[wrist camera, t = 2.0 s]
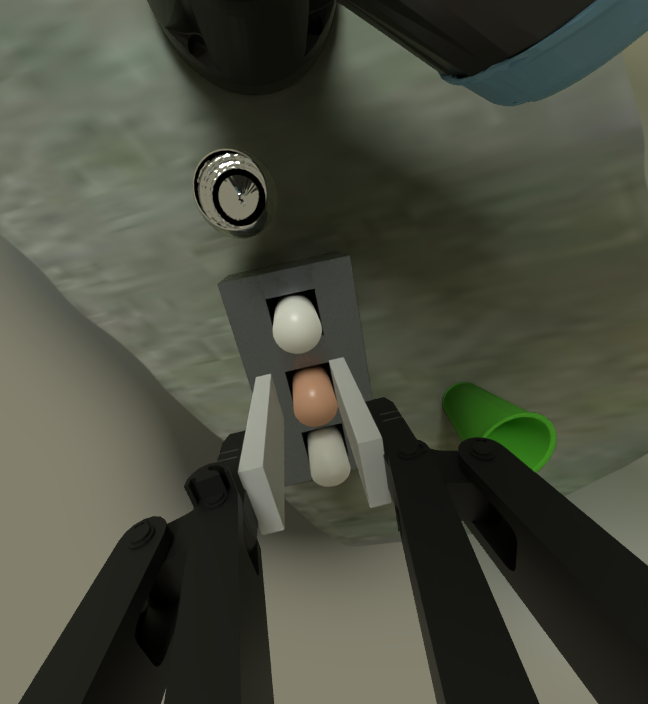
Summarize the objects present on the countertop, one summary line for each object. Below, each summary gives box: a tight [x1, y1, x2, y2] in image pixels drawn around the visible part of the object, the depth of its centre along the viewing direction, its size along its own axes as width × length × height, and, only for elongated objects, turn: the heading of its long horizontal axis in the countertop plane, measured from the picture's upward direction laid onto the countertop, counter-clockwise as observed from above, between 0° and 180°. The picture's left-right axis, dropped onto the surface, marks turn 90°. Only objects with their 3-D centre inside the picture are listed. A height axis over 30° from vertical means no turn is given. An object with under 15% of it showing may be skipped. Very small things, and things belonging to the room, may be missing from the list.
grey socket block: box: [218, 252, 372, 487], centre depth 35 cm, size 24×12×6 cm, turn 11°
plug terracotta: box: [292, 363, 338, 427], centre depth 31 cm, size 4×4×7 cm
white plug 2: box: [306, 424, 351, 487], centre depth 34 cm, size 4×4×7 cm
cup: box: [443, 382, 556, 473], centre depth 37 cm, size 9×9×11 cm
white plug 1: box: [273, 292, 322, 354], centre depth 29 cm, size 4×4×7 cm
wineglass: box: [192, 148, 278, 239], centre depth 25 cm, size 6×6×12 cm
